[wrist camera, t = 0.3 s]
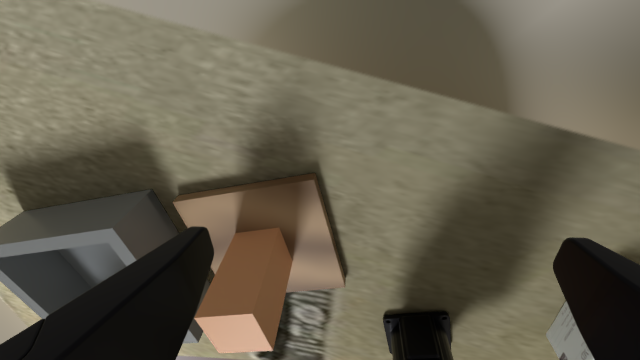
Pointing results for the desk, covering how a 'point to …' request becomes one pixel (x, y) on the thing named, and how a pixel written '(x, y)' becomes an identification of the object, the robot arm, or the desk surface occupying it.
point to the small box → (567, 337)
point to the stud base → (272, 225)
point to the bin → (81, 248)
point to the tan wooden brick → (247, 293)
